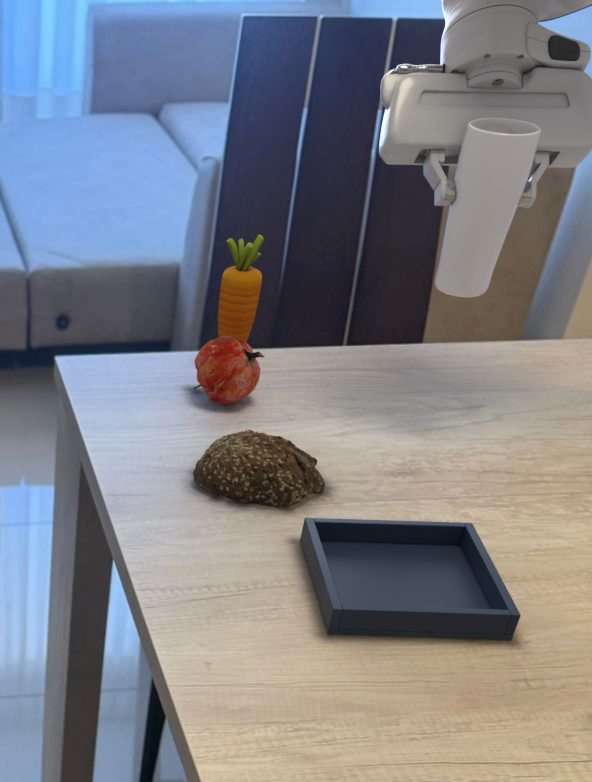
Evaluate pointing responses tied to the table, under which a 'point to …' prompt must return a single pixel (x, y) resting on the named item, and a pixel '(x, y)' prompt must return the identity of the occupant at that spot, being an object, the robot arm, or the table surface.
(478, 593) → the dark blue-gray tray
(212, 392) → the pomegranate
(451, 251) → the white cup
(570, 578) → the table surface
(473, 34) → the robot arm
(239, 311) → the carrot
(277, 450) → the bread roll
